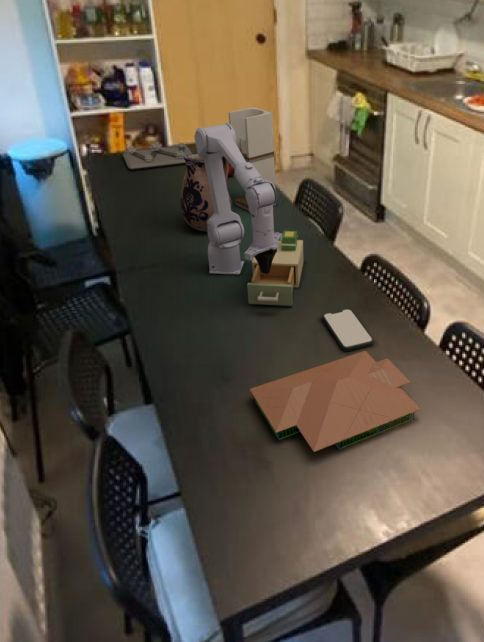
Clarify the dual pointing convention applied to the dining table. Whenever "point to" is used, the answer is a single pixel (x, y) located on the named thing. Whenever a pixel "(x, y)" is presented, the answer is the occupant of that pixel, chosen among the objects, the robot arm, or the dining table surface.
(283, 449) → the dining table surface
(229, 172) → the beverage can
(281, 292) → the drawer
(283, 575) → the dining table surface
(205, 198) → the ceramic pitcher
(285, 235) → the green box
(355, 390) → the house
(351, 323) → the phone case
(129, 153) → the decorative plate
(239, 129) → the gray hollow column
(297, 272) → the cabinet
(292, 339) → the dining table surface
